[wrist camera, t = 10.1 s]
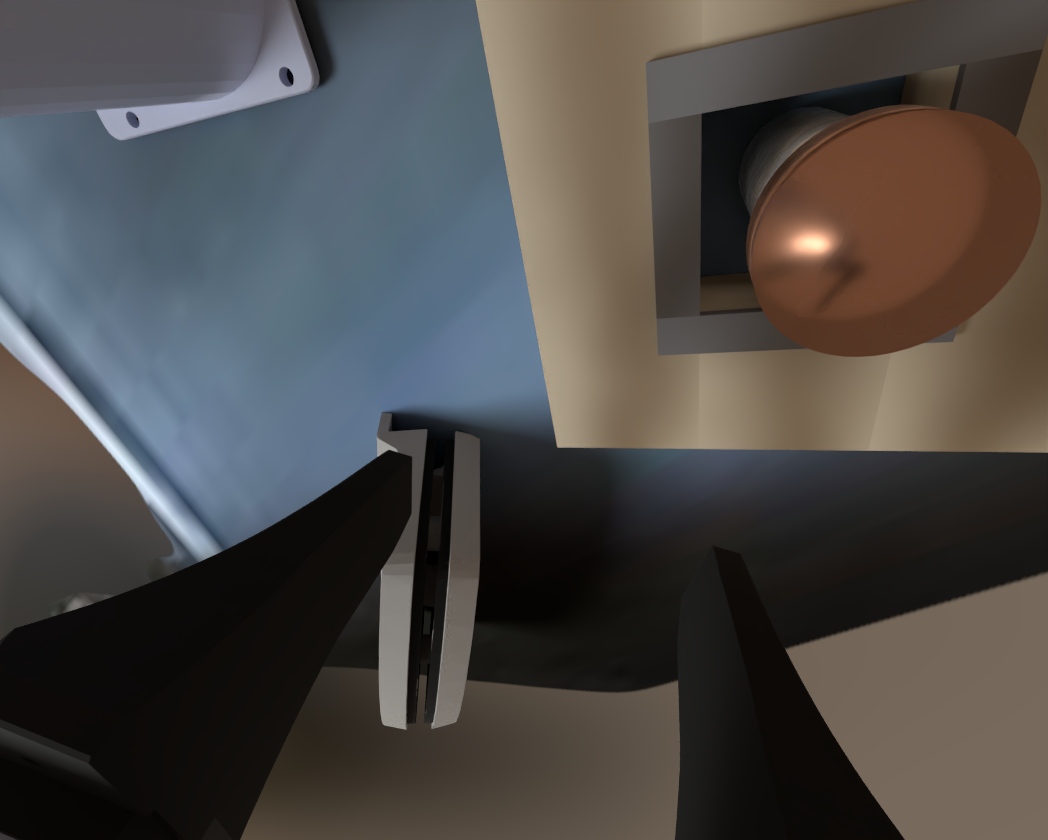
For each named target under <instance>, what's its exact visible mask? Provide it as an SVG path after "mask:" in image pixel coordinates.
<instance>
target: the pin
mask: <svg viewBox="0 0 1048 840" xmlns="http://www.w3.org/2000/svg"><path fill="white" fill-rule="evenodd" d="M739 188H740V192H741V195H742V198H743V200H744V202H745V205H746V207H747V209H748V212H749V214H750V217H751V218H750V222H749V226H748V230H747V238H746V259H747V265H748V270H749V273H750V276H751V280H752V283H753V286H754V289H755V293H756V296H757V299H758V302H759V304H760V306H761V308H762V310H763V312H764V314H765V315H766V316H767V318H768V319H769V321H770V322H771V323H772V324H773V325H774V326H775V327H776V328H777V329H778V330H779V331H780V332H781V333H782V334H783V335H785V336H786V337H787V338H789V339H790V340H792V341H793V342H795V343H797V344H799V345H801V346H803V347H805V348H808V349H811V350H813V351H816V352H820V353H824V354H828V355H835V356H843V357H866V356H877V355H883V354H889V353H894V352H898V351H901V350H905V349H909V348H912V347H914V346H917V345H920V344H922V343H925V342H928V341H930V340H932V339H934V338H936V337H938V336H940V335H942V334H945V333H946V332H948V331H950V330H951V329H953V328H955V327H956V326H958V325H960V324H961V323H963V322H964V321H966V320H967V319H968V318H970V317H971V316H973V315H974V314H975V313H977V312H978V311H979V310H980V309H981V308H983V307H984V306H985V305H986V304H987V303H988V302H989V301H991V300H992V299H993V298H994V297H995V296H996V294H997V293H998V292H999V291H1000V290H1001V289H1002V288H1003V287H1004V286H1005V285H1006V284H1007V282H1008V281H1009V280H1010V278H1011V277H1012V276H1013V275H1014V273H1015V272H1016V271H1017V269H1018V267H1019V266H1020V264H1021V262H1022V261H1023V259H1024V257H1025V256H1026V254H1027V252H1028V250H1029V248H1030V245H1031V243H1032V241H1033V239H1034V236H1035V233H1036V229H1037V226H1038V222H1039V218H1040V210H1041V184H1040V180H1039V176H1038V172H1037V168H1036V166H1035V164H1034V162H1033V160H1032V157H1031V155H1030V153H1029V152H1028V151H1027V149H1026V148H1025V147H1024V146H1023V144H1022V143H1021V142H1020V140H1019V139H1017V138H1016V137H1015V136H1014V135H1013V134H1012V133H1010V132H1009V131H1008V130H1007V129H1005V128H1004V127H1002V126H1000V125H998V124H997V123H995V122H993V121H991V120H989V119H986V118H983V117H980V116H978V115H975V114H970V113H965V112H959V111H954V110H948V109H942V108H936V107H930V106H924V105H894V106H885V107H880V108H876V109H871V110H867V111H864V112H861V113H858V114H855V115H853V116H849V115H846V114H842V113H839V112H836V111H832V110H829V109H826V108H821V107H801V108H797V109H793V110H790V111H787V112H785V113H783V114H781V115H779V116H777V117H776V118H774V119H773V120H771V121H770V122H768V123H767V124H766V125H765V126H764V127H763V128H762V129H761V130H760V131H759V132H758V133H757V134H756V135H755V136H754V138H753V139H752V140H751V142H750V143H749V145H748V147H747V149H746V151H745V153H744V155H743V158H742V160H741V164H740V168H739Z"/></svg>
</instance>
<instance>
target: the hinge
mask: <svg viewBox="0 0 1048 840" xmlns="http://www.w3.org/2000/svg"><path fill="white" fill-rule="evenodd" d="M435 444H436V438H427V429H419V430H405V431H392V414H391V413H384V412H382V414H381V419H380V423H379V427H378V432H377V454H378V456H380V455H381V454H382V453H384V452H385V451H387V450H392V451H395V452H399V453H402V454H405V455H409V456H412V514H411V516H410V518H409V521H408V523H407V525H406V527H405V529H404V531H403V533H402V535H401V537H400V539H399V541H398V543H397V545H396V547H395V549H394V551H393V553H392V554H391V556H390V557H389V559H388V561H387V562H386V564H385V565H384V567H383V568H382V570H381V599H380V631H379V696H380V710H381V711H380V712H381V718H382V723H383V724H384V725H386V726H391V727H396V728H401V729H407V727H408V723H416V713H417V700H418V688H419V675H420V664H428V670H427V686H426V701H425V718H424V723H432V728H437V727H440V726H444V725H448V724H451V723H455V722H456V721H457V718H458V715H459V712H460V708H461V704H462V699H463V695H464V689H465V684H466V678H467V671H468V664H469V657H470V650H471V643H472V635H473V627H474V618H475V610H476V601H477V592H478V583H479V569H480V439H479V438H477V437H475V436H473V435H471V434H467V433H463V432H459V431H455V439H446V443H445V456H444V466H442V467H440V468H437V469H435V470H434V458H435ZM427 551H438V564H434V565H431V564H426V561H427ZM423 605H424V606H429V607H434V609H432V612H431V624H430V635H423V624H424V609H423Z"/></svg>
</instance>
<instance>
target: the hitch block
mask: <svg viewBox="0 0 1048 840" xmlns="http://www.w3.org/2000/svg"><path fill="white" fill-rule="evenodd" d="M476 5H477V10H478V16H479V21H480V27H481V32H482V38H483V43H484V49H485V54H486V60H487V65H488V70H489V76H490V81H491V87H492V92H493V98H494V103H495V109H496V114H497V120H498V125H499V131H500V136H501V142H502V147H503V153H504V158H505V163H506V169H507V174H508V180H509V185H510V191H511V196H512V202H513V207H514V213H515V218H516V224H517V229H518V235H519V240H520V245H521V251H522V256H523V262H524V267H525V273H526V278H527V284H528V289H529V295H530V300H531V306H532V311H533V317H534V322H535V327H536V333H537V338H538V344H539V349H540V355H541V360H542V366H543V371H544V377H545V382H546V388H547V393H548V399H549V404H550V410H551V415H552V420H553V426H554V431H555V437H556V442H557V447H558V448H658V449H759V450H860V451H961V452H1048V0H476ZM903 75H906V78H905V83H904V88H903V93H902V99H901V104H900V105H924V106H930V107H936V108H942V109H948V110H954V111H959V112H965V113H970V114H975V115H978V116H980V117H983V118H986V119H989V120H991V121H993V122H995V123H997V124H998V125H1000V126H1002V127H1004V128H1005V129H1007V130H1008V131H1009V132H1010V133H1012V134H1013V135H1014V136H1015V137H1016V138H1017V139H1019V140H1020V142H1021V143H1022V144H1023V146H1024V147H1025V148H1026V149H1027V151H1028V152H1029V153H1030V155H1031V157H1032V160H1033V162H1034V164H1035V166H1036V168H1037V172H1038V176H1039V180H1040V184H1041V210H1040V218H1039V222H1038V226H1037V229H1036V233H1035V236H1034V239H1033V241H1032V243H1031V245H1030V248H1029V250H1028V252H1027V254H1026V256H1025V257H1024V259H1023V261H1022V262H1021V264H1020V266H1019V267H1018V269H1017V271H1016V272H1015V273H1014V275H1013V276H1012V277H1011V278H1010V280H1009V281H1008V282H1007V284H1006V285H1005V286H1004V287H1003V288H1002V289H1001V290H1000V291H999V292H998V293H997V294H996V296H995V297H994V298H993V299H992V300H991V301H989V302H988V303H987V304H986V305H985V306H984V307H983V308H981V309H980V310H979V311H978V312H977V313H975V314H974V315H973V316H971V317H970V318H968V319H967V320H966V321H964V322H963V323H961V324H960V325H958V326H956V327H955V328H953V329H951V330H950V331H948V332H946V333H945V334H942V335H940V336H938V337H936V338H934V339H932V340H930V341H928V342H925V343H922V344H920V345H917V346H914V347H912V348H909V349H905V350H901V351H898V352H894V353H889V354H883V355H877V356H866V357H843V356H835V355H828V354H824V353H820V352H816V351H813V350H811V349H808V348H805V347H803V346H801V345H799V344H797V343H795V342H793V341H792V340H790V339H789V338H787V337H786V336H785V335H783V334H782V333H781V332H780V331H779V330H778V329H777V328H776V327H775V326H774V325H773V324H772V323H771V322H770V321H769V319H768V318H767V316H766V315H765V314H764V312H763V310H762V308H761V306H760V304H759V302H758V299H757V296H756V293H755V289H754V286H753V283H752V280H751V276H750V273H749V272H747V273H736V274H725V275H714V276H703V277H700V248H701V122H702V113H707V112H712V111H717V110H722V109H728V108H733V107H738V106H744V105H749V104H754V103H760V102H765V101H770V100H775V99H781V98H786V97H791V96H797V95H802V94H807V93H813V92H818V91H823V90H828V89H834V88H839V87H844V86H850V85H855V84H860V83H866V82H871V81H876V80H881V79H887V78H892V77H897V76H903Z"/></svg>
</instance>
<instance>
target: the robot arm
mask: <svg viewBox="0 0 1048 840" xmlns="http://www.w3.org/2000/svg"><path fill="white" fill-rule="evenodd" d="M288 69H289V70H291V72H292V74H293V77H294V82H293V85H292V84H291V83H290V82H289V80H288V79H287V70H288ZM319 79H320V76H319V71H318V67H317V64H316V61H315V59H314V56H313V53H312V50H311V47H310V44H309V41H308V38H307V35H306V32H305V29H304V26H303V23H302V20H301V17H300V14H299V11H298V8H297V5H296V2H295V0H0V118H4V117H17V116H29V115H42V114H55V113H68V112H81V111H94V110H96V111H97V113H98V115H99V117H100V119H101V120H102V122H103V124H104V126H105V128H106V129H107V130H108V132H109V133H110V134H111V135H112V136H113V137H114V138H116V139H118V140H128V139H133V138H137V137H140V136H144V135H148V134H152V133H156V132H159V131H163V130H167V129H171V128H175V127H179V126H182V125H186V124H190V123H194V122H198V121H201V120H205V119H209V118H213V117H217V116H220V115H224V114H228V113H232V112H236V111H240V110H243V109H247V108H251V107H255V106H259V105H262V104H266V103H270V102H274V101H278V100H281V99H285V98H289V97H293V96H297V95H301V94H304V93H308V92H312V91H314V90H315V89H316V88H317V87H318V85H319ZM136 116H137V118H138V120H139V122H138V121H137V119H136ZM411 514H412V456H409V455H405V454H402V453H399V452H395V451H392V450H387V451H385V452H384V453H382V454H381V455H380V456H378V457H377V458H375V459H374V460H372V461H371V462H370V463H368V464H367V465H365V466H364V467H362V468H361V469H360V470H358V471H357V472H355V473H354V474H352V475H351V476H350V477H348V478H347V479H345V480H344V481H342V482H341V483H339V484H338V485H336V486H335V487H333V488H332V489H330V490H329V491H327V492H326V493H324V494H323V495H321V496H320V497H318V498H317V499H315V500H314V501H312V502H310V503H309V504H307V505H306V506H304V507H302V508H301V509H299V510H297V511H296V512H294V513H292V514H291V515H289V516H287V517H286V518H284V519H282V520H281V521H279V522H277V523H275V524H274V525H272V526H270V527H268V528H267V529H265V530H263V531H261V532H259V533H258V534H256V535H254V536H252V537H250V538H248V539H246V540H244V541H242V542H240V543H238V544H236V545H234V546H232V547H230V548H228V549H226V550H224V551H222V552H220V553H218V554H216V555H214V556H212V557H209V558H207V559H205V560H203V561H201V562H198V563H196V564H194V565H192V566H190V567H187V568H185V569H183V570H180V571H178V572H176V573H174V574H171V575H169V576H166V577H164V578H161V579H159V580H156V581H153V582H151V583H148V584H146V585H143V586H140V587H138V588H135V589H133V590H130V591H128V592H125V593H122V594H120V595H117V596H114V597H111V598H108V599H106V600H103V601H100V602H97V603H94V604H91V605H88V606H85V607H82V608H79V609H76V610H72V611H69V612H66V613H63V614H60V615H57V616H53V617H50V618H48V619H44V620H41V621H38V622H35V623H31V624H28V625H24V626H21V627H18V628H15V629H14V630H12V631H11V632H10V633H8V634H7V635H6V636H5V637H3V638H2V639H1V640H0V840H240V838H241V836H242V834H243V832H244V829H245V827H246V824H247V822H248V820H249V818H250V816H251V814H252V811H253V809H254V807H255V805H256V802H257V800H258V798H259V796H260V794H261V791H262V789H263V787H264V784H265V782H266V780H267V778H268V776H269V774H270V772H271V769H272V767H273V765H274V763H275V761H276V759H277V757H278V755H279V753H280V750H281V748H282V746H283V744H284V742H285V740H286V738H287V736H288V734H289V732H290V730H291V727H292V725H293V723H294V721H295V719H296V717H297V715H298V713H299V711H300V709H301V707H302V705H303V703H304V701H305V699H306V697H307V695H308V693H309V691H310V689H311V687H312V686H313V684H314V682H315V680H316V678H317V676H318V674H319V672H320V670H321V668H322V666H323V664H324V663H325V661H326V659H327V657H328V655H329V653H330V651H331V649H332V647H333V646H334V644H335V642H336V640H337V639H338V637H339V635H340V634H341V632H342V630H343V629H344V627H345V626H346V624H347V622H348V621H349V619H350V618H351V616H352V615H353V613H354V612H355V610H356V609H357V607H358V606H359V604H360V602H361V601H362V599H363V598H364V596H365V595H366V593H367V592H368V590H369V589H370V587H371V585H372V584H373V582H374V581H375V579H376V578H377V576H378V575H379V573H380V572H381V570H382V568H383V567H384V565H385V564H386V562H387V561H388V559H389V557H390V556H391V554H392V553H393V551H394V549H395V547H396V545H397V543H398V541H399V539H400V537H401V535H402V533H403V531H404V529H405V527H406V525H407V523H408V521H409V518H410V516H411ZM677 645H678V684H679V685H678V688H679V722H680V776H679V792H678V808H677V821H676V822H677V823H676V834H675V840H904V838H903V837H902V835H901V834H900V832H899V831H898V830H897V828H896V827H895V825H894V824H893V823H892V821H891V820H890V819H889V817H888V816H887V815H886V813H885V812H884V810H883V809H882V808H881V806H880V805H879V803H878V802H877V801H876V799H875V798H874V796H873V795H872V794H871V792H870V791H869V790H868V788H867V786H866V785H865V783H864V782H863V781H862V779H861V778H860V776H859V775H858V773H857V772H856V770H855V769H854V767H853V766H852V764H851V763H850V761H849V759H848V758H847V756H846V755H845V753H844V752H843V750H842V749H841V747H840V745H839V744H838V742H837V741H836V739H835V737H834V736H833V734H832V733H831V731H830V729H829V728H828V726H827V724H826V723H825V721H824V719H823V718H822V716H821V714H820V712H819V711H818V709H817V707H816V706H815V704H814V702H813V700H812V698H811V697H810V695H809V693H808V691H807V690H806V688H805V686H804V684H803V683H802V681H801V679H800V677H799V675H798V673H797V671H796V669H795V667H794V665H793V664H792V662H791V660H790V658H789V656H788V654H787V652H786V650H785V648H784V646H783V644H782V642H781V640H780V638H779V636H778V634H777V632H776V630H775V628H774V626H773V624H772V621H771V619H770V617H769V615H768V613H767V611H766V609H765V607H764V604H763V602H762V600H761V598H760V596H759V593H758V591H757V589H756V587H755V585H754V582H753V580H752V578H751V576H750V573H749V571H748V569H747V567H746V564H745V562H744V560H743V558H742V556H741V554H739V553H736V552H732V551H729V550H726V549H722V548H719V547H716V546H712V548H711V549H710V551H709V553H708V554H707V556H706V558H705V559H704V561H703V563H702V564H701V566H700V568H699V569H698V571H697V573H696V574H695V576H694V578H693V580H692V581H691V583H690V585H689V586H688V588H687V590H686V591H685V593H684V595H683V596H682V599H681V608H680V618H679V629H678V641H677Z"/></svg>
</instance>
